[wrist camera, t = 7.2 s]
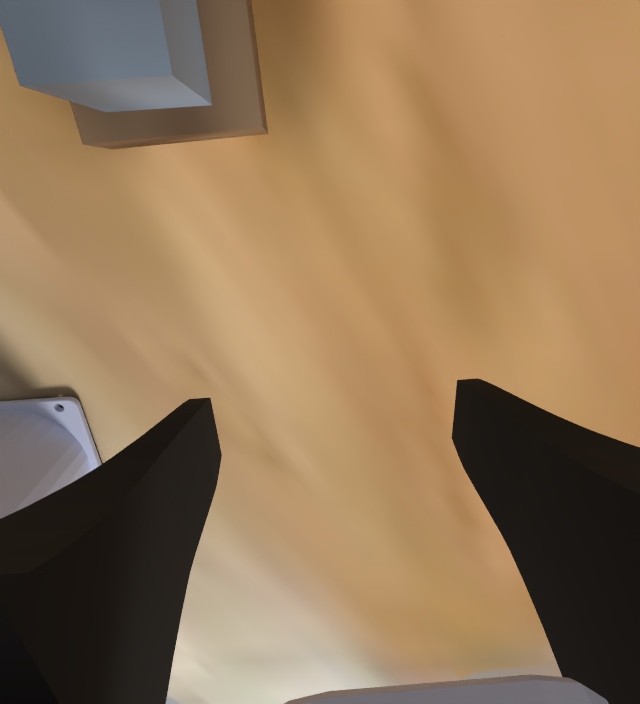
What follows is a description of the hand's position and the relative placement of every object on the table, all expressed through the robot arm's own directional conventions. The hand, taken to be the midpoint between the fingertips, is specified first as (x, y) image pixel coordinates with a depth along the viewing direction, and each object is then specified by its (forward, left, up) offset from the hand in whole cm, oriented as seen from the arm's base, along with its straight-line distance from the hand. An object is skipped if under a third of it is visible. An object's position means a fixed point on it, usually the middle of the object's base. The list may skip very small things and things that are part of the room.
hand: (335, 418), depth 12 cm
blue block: (-6, +11, -8) cm, 15 cm away
